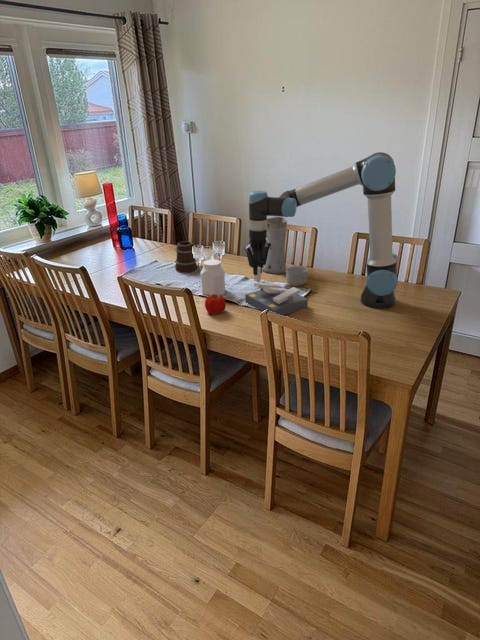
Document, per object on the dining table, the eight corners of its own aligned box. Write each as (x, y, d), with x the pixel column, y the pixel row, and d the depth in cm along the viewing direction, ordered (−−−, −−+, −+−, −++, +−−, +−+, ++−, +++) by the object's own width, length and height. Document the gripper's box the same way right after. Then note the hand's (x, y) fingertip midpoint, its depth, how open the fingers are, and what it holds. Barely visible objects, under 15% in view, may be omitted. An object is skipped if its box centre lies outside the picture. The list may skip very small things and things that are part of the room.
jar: (228, 290, 216) (227, 260, 209) (219, 297, 208) (217, 267, 202) (208, 286, 221) (206, 257, 214) (198, 293, 213) (196, 263, 206)
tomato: (201, 312, 194) (200, 296, 190) (216, 306, 199) (216, 290, 196) (215, 318, 188) (215, 302, 184) (230, 312, 193) (230, 296, 190)
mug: (189, 274, 238) (187, 247, 231) (171, 270, 243) (169, 244, 236) (205, 265, 250) (203, 239, 243) (187, 262, 255) (185, 237, 248)
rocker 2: (288, 293, 198) (289, 290, 198) (268, 293, 191) (269, 289, 191) (282, 290, 201) (283, 287, 201) (262, 290, 194) (263, 286, 194)
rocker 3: (300, 292, 192) (299, 289, 191) (279, 303, 187) (278, 300, 186) (293, 289, 195) (293, 286, 194) (273, 300, 190) (272, 297, 189)
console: (307, 307, 196) (308, 291, 193) (274, 318, 187) (274, 302, 183) (277, 292, 212) (277, 278, 208) (245, 302, 202) (245, 287, 199)
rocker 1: (278, 288, 204) (279, 285, 203) (258, 288, 196) (259, 284, 196) (273, 286, 207) (274, 283, 206) (253, 285, 199) (254, 282, 199)
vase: (259, 274, 236) (260, 222, 223) (266, 265, 248) (266, 216, 235) (283, 276, 233) (285, 224, 220) (288, 267, 244) (290, 217, 231)
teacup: (306, 288, 216) (307, 273, 212) (284, 287, 218) (284, 272, 214) (308, 278, 228) (308, 264, 224) (287, 277, 230) (287, 263, 226)
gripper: (264, 224, 193) (263, 275, 203) (240, 229, 186) (240, 281, 197) (275, 228, 187) (274, 280, 198) (250, 233, 181) (250, 286, 191)
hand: (257, 280), depth 197 cm, fingers closed
